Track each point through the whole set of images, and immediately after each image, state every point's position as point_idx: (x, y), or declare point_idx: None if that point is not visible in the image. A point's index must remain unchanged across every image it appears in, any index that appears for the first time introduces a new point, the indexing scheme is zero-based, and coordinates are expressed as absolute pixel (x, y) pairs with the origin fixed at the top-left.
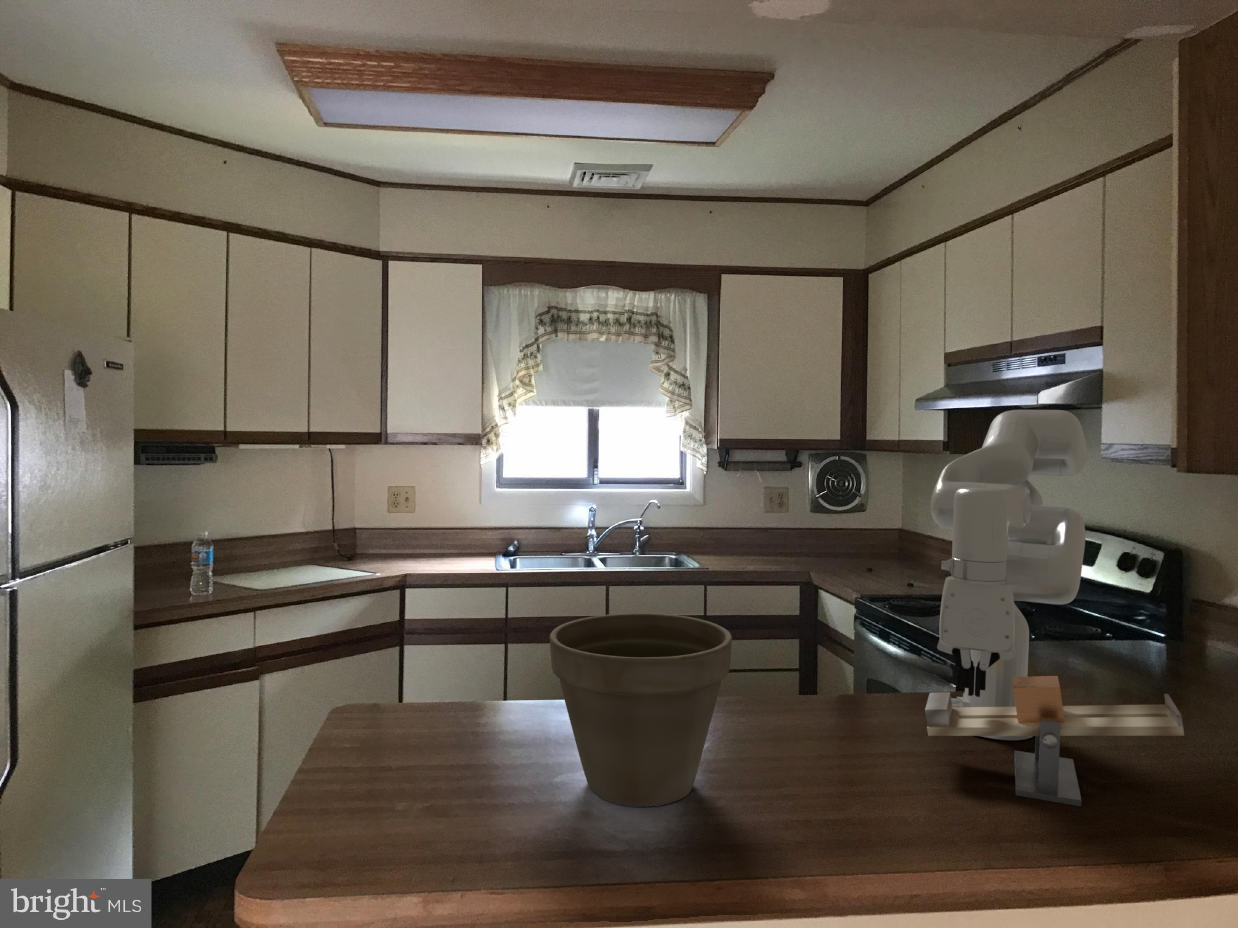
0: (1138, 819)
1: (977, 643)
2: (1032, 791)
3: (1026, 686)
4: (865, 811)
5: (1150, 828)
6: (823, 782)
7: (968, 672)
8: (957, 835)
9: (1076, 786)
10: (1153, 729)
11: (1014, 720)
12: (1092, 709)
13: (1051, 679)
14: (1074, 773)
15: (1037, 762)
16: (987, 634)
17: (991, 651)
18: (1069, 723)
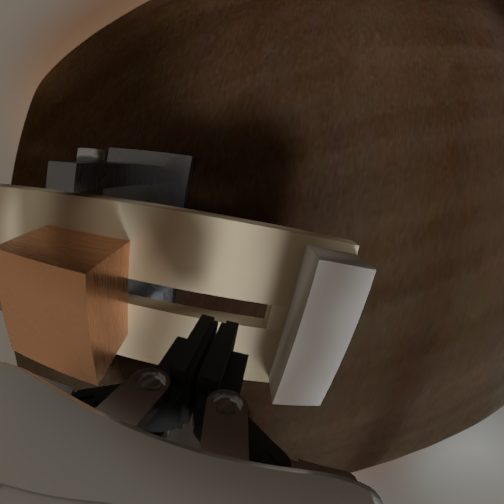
0: (68, 135)
1: (121, 458)
2: (167, 157)
3: (52, 277)
4: (432, 59)
5: (66, 114)
6: (483, 153)
7: (223, 384)
8: (313, 4)
9: None
10: None
11: (136, 261)
12: None
13: (14, 324)
14: None
15: (141, 291)
16: (26, 475)
17: (70, 396)
18: (41, 217)
